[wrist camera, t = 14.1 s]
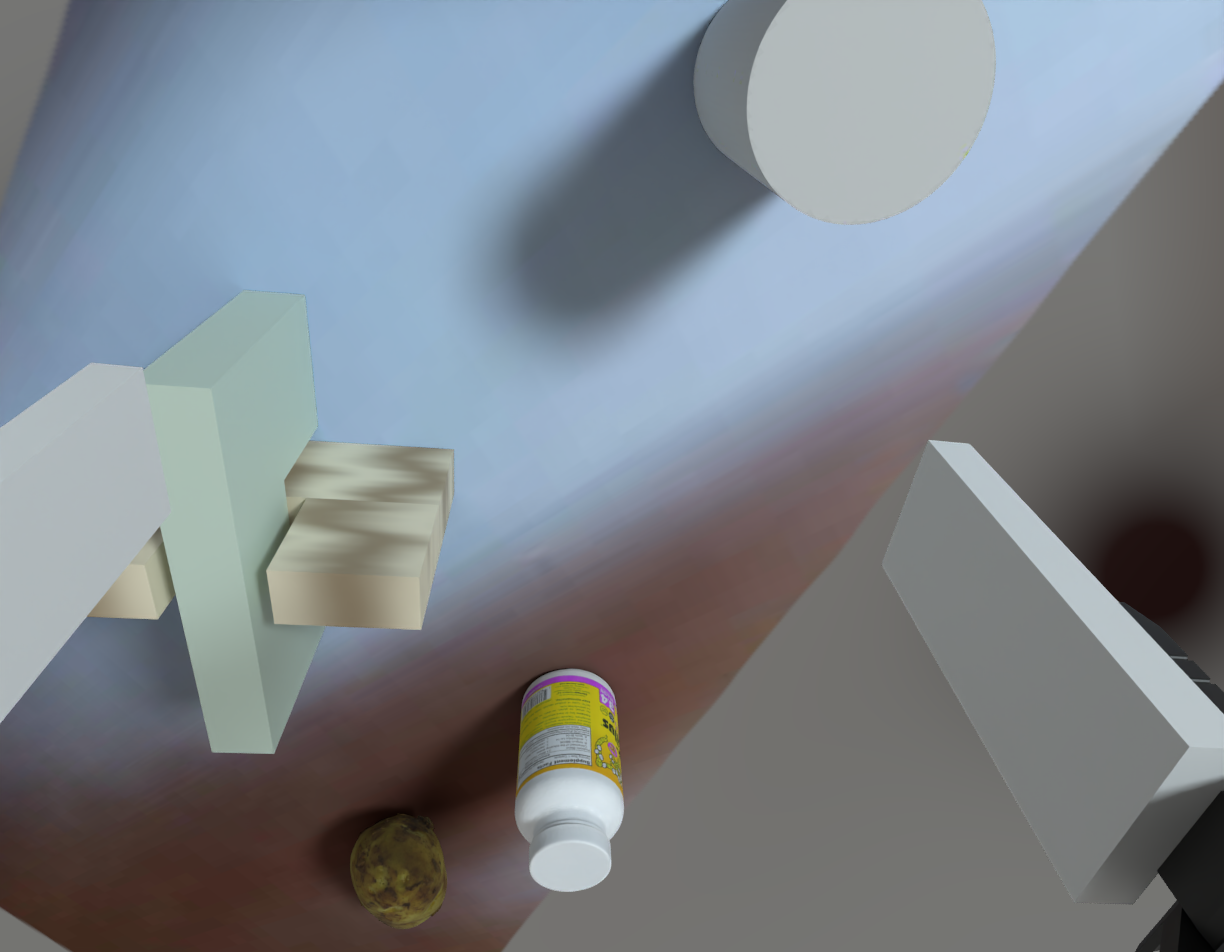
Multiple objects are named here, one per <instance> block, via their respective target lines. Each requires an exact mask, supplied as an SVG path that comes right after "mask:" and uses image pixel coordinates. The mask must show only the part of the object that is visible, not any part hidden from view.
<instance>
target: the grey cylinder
mask: <svg viewBox="0 0 1224 952" xmlns="http://www.w3.org/2000/svg"><path fill="white" fill-rule="evenodd" d="M995 68H996V54H995V43H994V36H993V31H992V27H991V23H990V20H989V17H988V14H987V11H986V9H985V7H984V5H983V2H982V0H728V1H727V2H726V3H725V4H724V6H723V7H722V8H721V9H720V10H719V12H718V13H717V14H716V16H715V17H714V18H713V20H712V22H711V23H710V25H709V27H708V29H707V30H706V32H705V35H704V37H703V39H702V42H701V44H700V47H699V51H698V54H697V58H696V63H695V69H694V97H695V104H696V109H697V112H698V116H699V118H700V121H701V124H702V126H703V128H704V130H705V132H706V134H707V135H708V137H709V138H710V140H711V141H712V142H713V144H714V145H715V146H716V147H717V148H718V149H719V150H720V151H721V152H722V153H723V154H724V155H725V156H727V157H728V158H729V159H730V160H732V161H733V162H734V163H736V164H737V165H738V166H740V167H741V168H742V169H744V170H745V171H746V172H748V173H749V174H750V175H751V176H753V177H754V178H755V179H757V180H758V181H759V182H761V183H762V184H763V185H765V186H766V187H767V188H768V189H770V190H771V191H772V192H774V193H775V194H776V195H778V196H779V197H780V198H782V199H783V200H784V201H786V202H787V203H788V204H790V205H791V206H792V207H794V208H795V209H797V210H798V211H800V212H802V213H804V214H806V215H808V216H810V217H812V218H815V219H818V220H821V221H824V222H829V223H834V224H846V225H854V224H865V223H871V222H876V221H880V220H883V219H887V218H890V217H892V216H895V215H897V214H899V213H902V212H904V211H906V210H908V209H909V208H911V207H913V206H915V205H916V204H918V203H919V202H921V201H922V200H924V199H925V198H927V197H928V196H929V195H931V194H932V193H933V192H934V191H935V190H937V189H938V188H939V187H940V186H941V185H942V184H943V183H944V182H945V181H946V180H947V179H948V178H949V177H950V176H951V175H952V174H953V172H954V171H955V170H956V169H957V168H958V166H959V165H960V164H961V162H962V161H963V160H964V158H965V157H966V155H967V154H968V152H969V150H970V149H971V147H972V146H973V144H974V142H975V140H976V138H977V136H978V134H979V132H980V130H981V128H982V125H983V123H984V120H985V118H986V115H987V112H988V109H989V105H990V101H991V97H992V93H993V87H994V80H995Z"/></svg>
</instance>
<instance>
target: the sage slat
mask: <svg viewBox="0 0 1224 952" xmlns="http://www.w3.org/2000/svg"><path fill="white" fill-rule="evenodd" d="M143 372H144V377H145V382H146V387H147V392H148V397H149V402H150V407H151V412H152V417H153V423H154V428H155V433H156V438H157V443H158V448H159V453H160V458H161V463H162V468H163V473H164V478H165V483H166V488H167V493H168V498H169V503H170V508H171V513H170V514H169V516H168V517H167V518H166V519H165V521H164V522H163V523H162V524H161V526H160V528H161V533H162V537H163V541H164V546H165V550H166V554H167V559H168V563H169V567H170V572H171V576H172V580H173V585H174V589H175V593H176V598H177V602H178V607H179V611H180V615H181V620H182V624H183V628H184V633H185V637H186V641H187V646H188V650H189V654H190V659H191V663H192V667H193V672H194V676H195V680H196V685H197V689H198V693H199V698H200V702H201V707H202V711H203V715H204V720H205V724H206V728H207V733H208V737H209V741H210V746H211V750H212V752H223V753H264V754H274V753H275V750H276V748H277V745H278V743H279V740H280V738H281V735H282V733H283V730H284V728H285V725H286V723H287V721H288V718H289V716H290V713H291V711H292V708H293V706H294V703H295V701H296V698H297V696H298V693H299V691H300V688H301V686H302V683H303V681H304V679H305V676H306V674H307V671H308V669H309V666H310V664H311V661H312V659H313V656H314V654H315V651H316V649H317V646H318V644H319V642H320V639H321V637H322V634H323V632H324V629H325V627H326V626H313V625H287V624H274V618H273V611H272V605H271V598H270V592H269V585H268V579H267V572H266V570H267V568H268V566H269V565H270V563H271V561H272V559H273V557H274V556H275V554H276V552H277V550H278V548H279V547H280V545H281V543H282V541H283V539H284V538H285V536H286V534H287V532H288V531H289V529H290V522H289V514H288V507H287V499H286V491H285V484H284V480H285V478H286V476H287V475H288V473H289V472H290V470H291V469H292V467H293V465H294V464H295V462H296V461H297V459H298V457H299V456H300V454H301V453H302V451H303V449H304V448H305V446H306V445H307V443H308V442H309V440H310V438H311V437H312V435H313V434H314V432H315V430H316V429H317V427H318V420H317V410H316V400H315V390H314V380H313V370H312V360H311V350H310V341H309V331H308V321H307V311H306V301H305V295H300V294H288V293H275V292H262V291H250V290H243V291H242V292H241V293H240V294H238V295H237V296H236V297H235V298H233V299H232V300H231V301H230V302H228V303H227V304H226V305H225V306H223V307H222V308H221V309H219V310H218V311H217V312H216V313H214V314H213V315H212V316H211V317H209V318H208V319H207V320H206V321H204V322H203V323H202V324H201V325H199V326H198V327H197V328H196V329H194V330H193V331H192V332H191V333H189V334H188V335H187V336H186V337H184V338H183V339H182V340H181V341H179V342H178V343H177V344H175V345H174V346H173V347H172V348H170V349H169V350H168V351H167V352H165V353H164V354H163V355H162V356H160V357H159V358H158V359H157V360H155V361H154V362H153V363H152V364H150V365H149V366H148V367H147V368H145V369H144V370H143Z"/></svg>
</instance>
